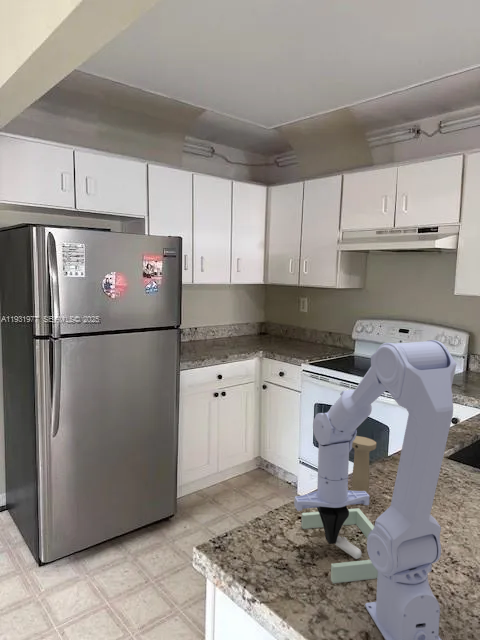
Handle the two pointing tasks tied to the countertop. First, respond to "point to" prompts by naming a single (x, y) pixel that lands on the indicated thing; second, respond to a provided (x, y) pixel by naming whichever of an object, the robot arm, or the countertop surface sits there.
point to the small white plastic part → (348, 547)
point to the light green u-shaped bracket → (346, 569)
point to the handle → (361, 463)
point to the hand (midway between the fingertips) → (330, 541)
